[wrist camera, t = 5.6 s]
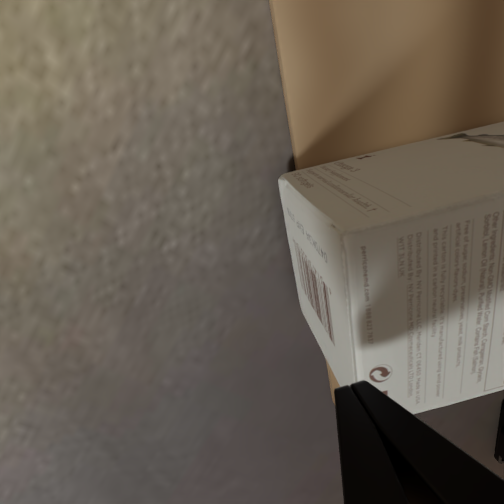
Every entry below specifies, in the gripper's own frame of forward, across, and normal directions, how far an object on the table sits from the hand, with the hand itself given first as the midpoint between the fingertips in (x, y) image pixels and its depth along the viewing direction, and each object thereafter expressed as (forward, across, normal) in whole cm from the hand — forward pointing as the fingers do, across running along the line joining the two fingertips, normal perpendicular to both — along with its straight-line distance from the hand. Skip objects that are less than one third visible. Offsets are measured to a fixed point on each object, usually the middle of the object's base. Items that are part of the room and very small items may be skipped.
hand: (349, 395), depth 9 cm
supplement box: (+5, 0, 0) cm, 5 cm away
